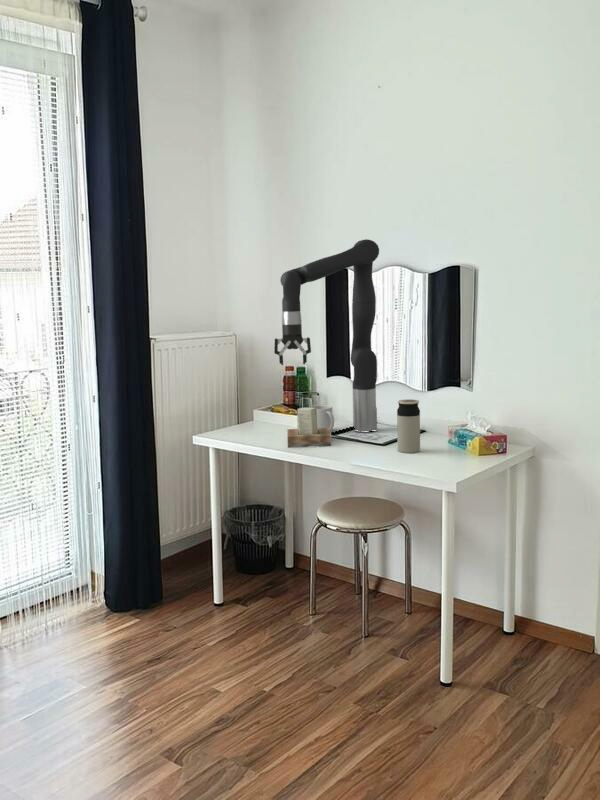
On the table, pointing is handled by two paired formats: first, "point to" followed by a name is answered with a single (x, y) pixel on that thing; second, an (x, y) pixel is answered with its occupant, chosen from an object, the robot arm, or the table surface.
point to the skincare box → (307, 421)
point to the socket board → (309, 438)
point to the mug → (324, 417)
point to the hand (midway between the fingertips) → (293, 364)
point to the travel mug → (408, 426)
